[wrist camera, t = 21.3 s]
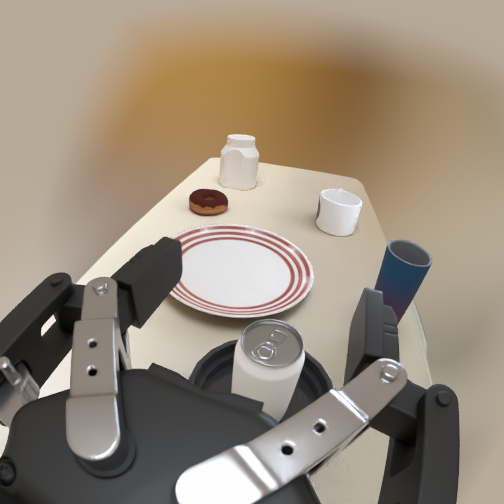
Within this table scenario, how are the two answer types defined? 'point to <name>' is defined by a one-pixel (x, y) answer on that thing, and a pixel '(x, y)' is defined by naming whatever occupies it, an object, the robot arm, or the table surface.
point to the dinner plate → (240, 271)
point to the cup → (402, 274)
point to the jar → (239, 163)
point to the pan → (221, 372)
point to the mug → (338, 212)
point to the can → (268, 364)
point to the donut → (208, 201)
